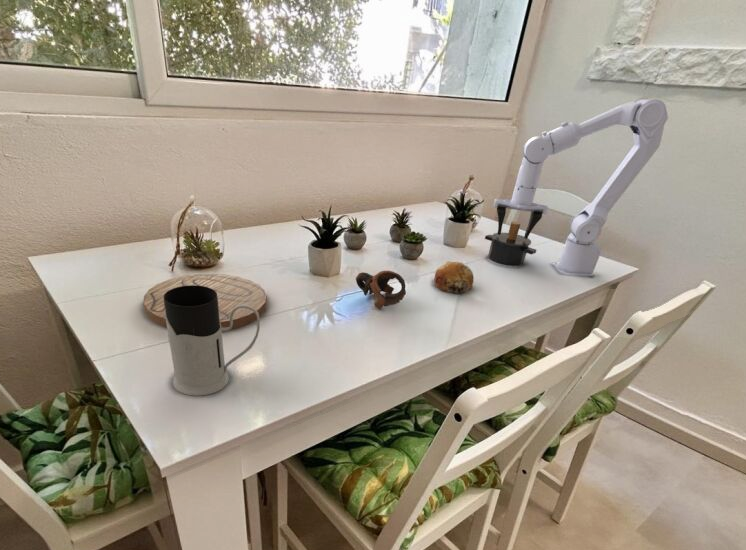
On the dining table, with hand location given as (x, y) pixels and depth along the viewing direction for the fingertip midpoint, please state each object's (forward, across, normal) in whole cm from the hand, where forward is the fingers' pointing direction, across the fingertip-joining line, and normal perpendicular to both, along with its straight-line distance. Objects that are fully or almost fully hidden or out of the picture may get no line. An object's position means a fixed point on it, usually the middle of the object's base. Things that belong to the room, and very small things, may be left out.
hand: (512, 235), depth 134 cm
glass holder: (+8, -50, -86) cm, 99 cm away
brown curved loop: (+8, -31, -44) cm, 54 cm away
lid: (+1, 0, 0) cm, 1 cm away
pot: (+8, 0, 0) cm, 8 cm away
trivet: (+8, -65, -60) cm, 89 cm away
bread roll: (+8, -15, -27) cm, 32 cm away
